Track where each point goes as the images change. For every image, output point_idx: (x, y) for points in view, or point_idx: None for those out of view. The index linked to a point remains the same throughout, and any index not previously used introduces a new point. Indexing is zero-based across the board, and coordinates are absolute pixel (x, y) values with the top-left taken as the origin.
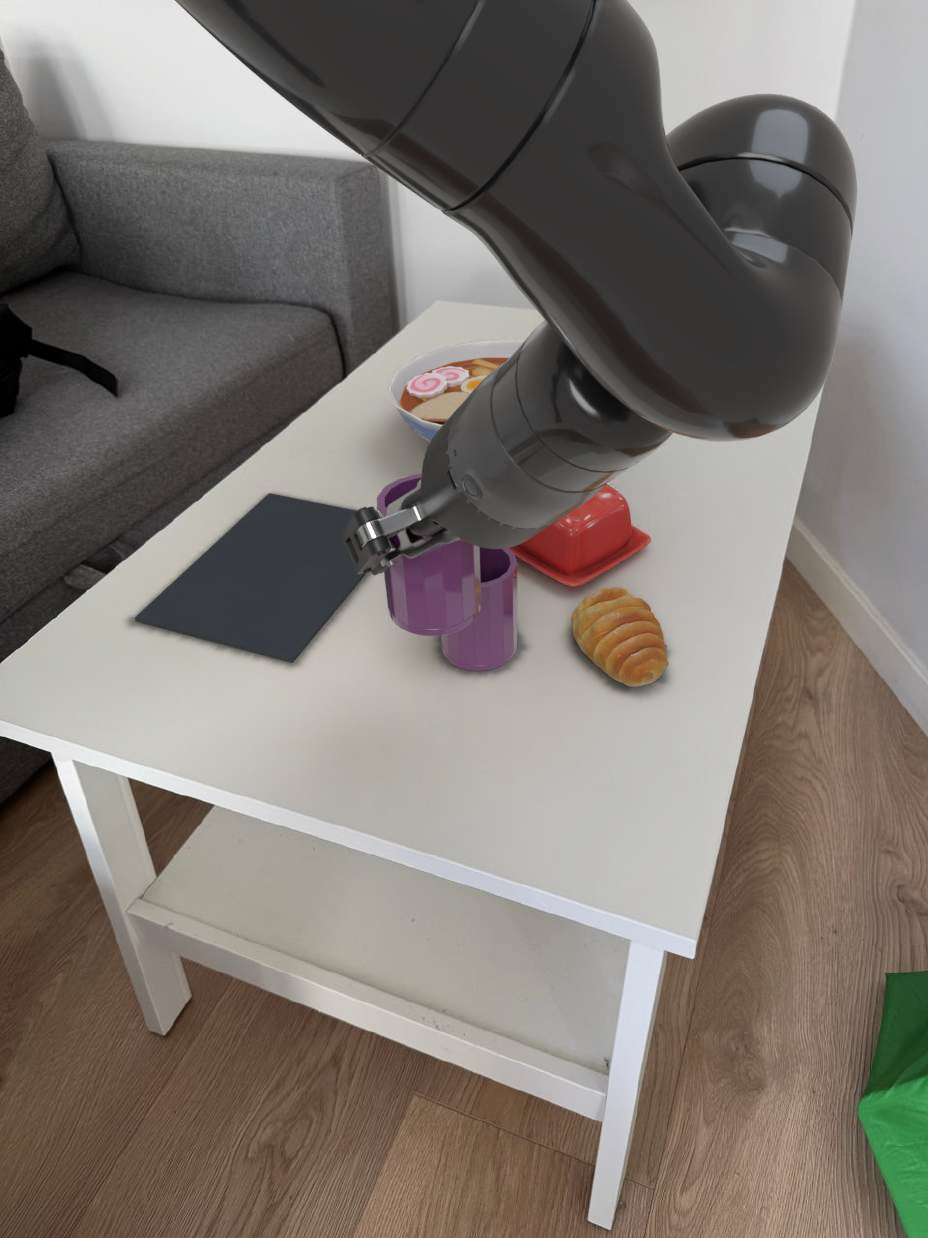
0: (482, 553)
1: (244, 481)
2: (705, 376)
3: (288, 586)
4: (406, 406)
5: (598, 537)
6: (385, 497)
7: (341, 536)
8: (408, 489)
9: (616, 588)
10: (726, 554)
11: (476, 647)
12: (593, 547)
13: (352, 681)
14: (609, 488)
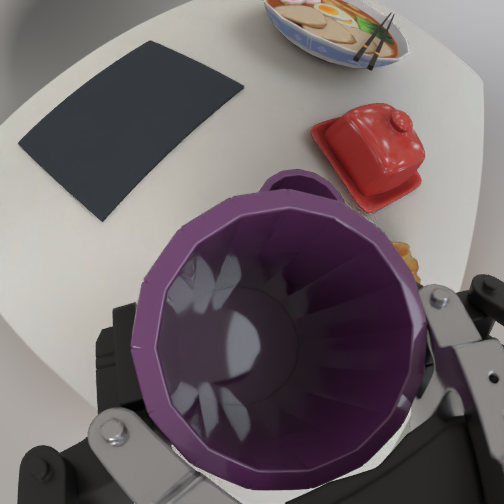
0: (311, 186)
1: (139, 29)
2: None
3: (125, 129)
4: (271, 4)
5: (399, 177)
6: (169, 288)
7: (20, 470)
8: (253, 226)
9: (404, 245)
10: (454, 211)
11: None
12: (392, 183)
13: (147, 262)
14: (418, 139)
